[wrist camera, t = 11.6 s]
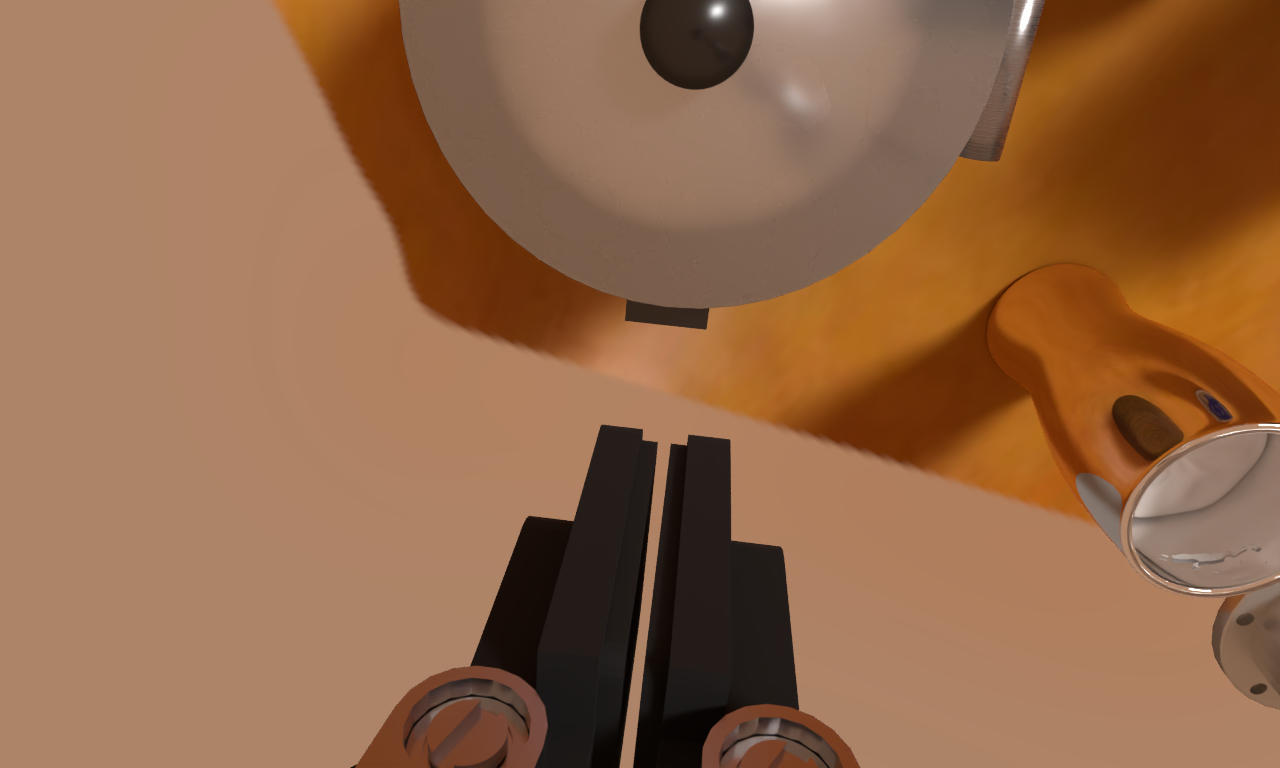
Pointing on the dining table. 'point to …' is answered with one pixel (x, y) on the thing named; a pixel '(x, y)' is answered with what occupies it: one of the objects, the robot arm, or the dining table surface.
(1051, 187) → the dining table surface
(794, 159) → the lid
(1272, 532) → the beer glass
